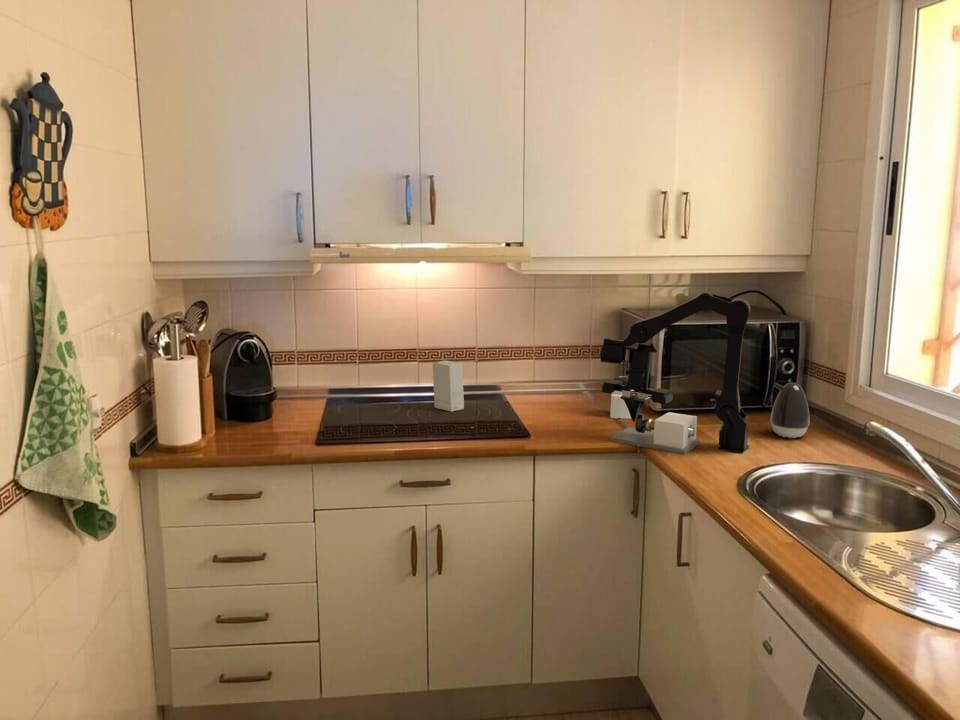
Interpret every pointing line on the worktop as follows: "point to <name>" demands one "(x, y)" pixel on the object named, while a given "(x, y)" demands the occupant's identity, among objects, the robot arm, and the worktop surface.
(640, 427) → the metal shaft
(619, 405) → the medicine bottle
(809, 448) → the worktop surface
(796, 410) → the dark grey egg shape
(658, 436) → the bearing block
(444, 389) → the skincare box
